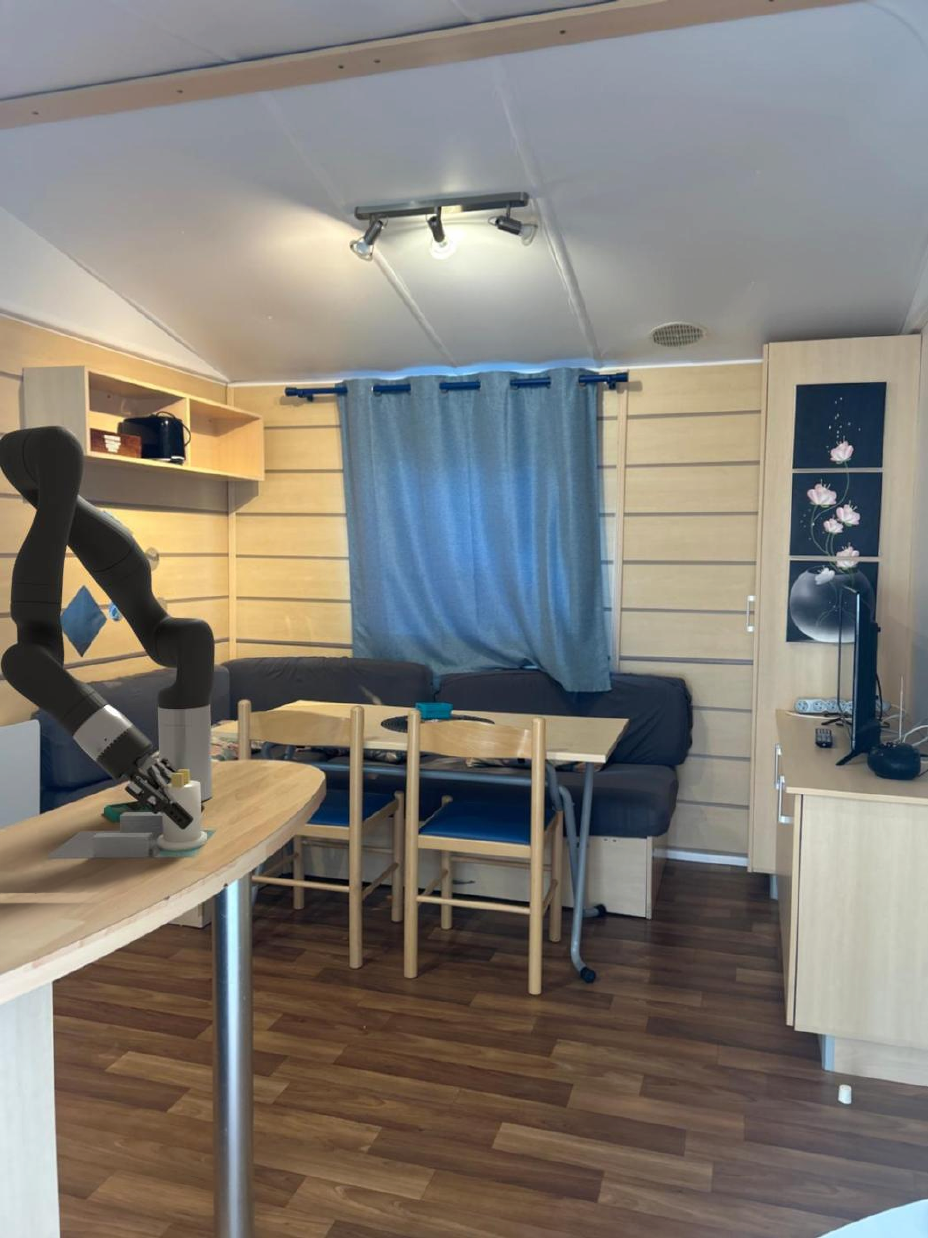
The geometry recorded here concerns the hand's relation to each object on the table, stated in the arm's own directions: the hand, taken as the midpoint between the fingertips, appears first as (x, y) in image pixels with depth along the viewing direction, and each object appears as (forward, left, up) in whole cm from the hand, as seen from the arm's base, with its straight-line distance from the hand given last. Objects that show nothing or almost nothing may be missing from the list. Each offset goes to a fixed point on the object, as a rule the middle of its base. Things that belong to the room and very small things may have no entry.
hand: (194, 818), depth 139 cm
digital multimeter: (-19, -13, -5) cm, 23 cm away
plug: (0, -2, -4) cm, 4 cm away
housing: (0, -9, -5) cm, 10 cm away
